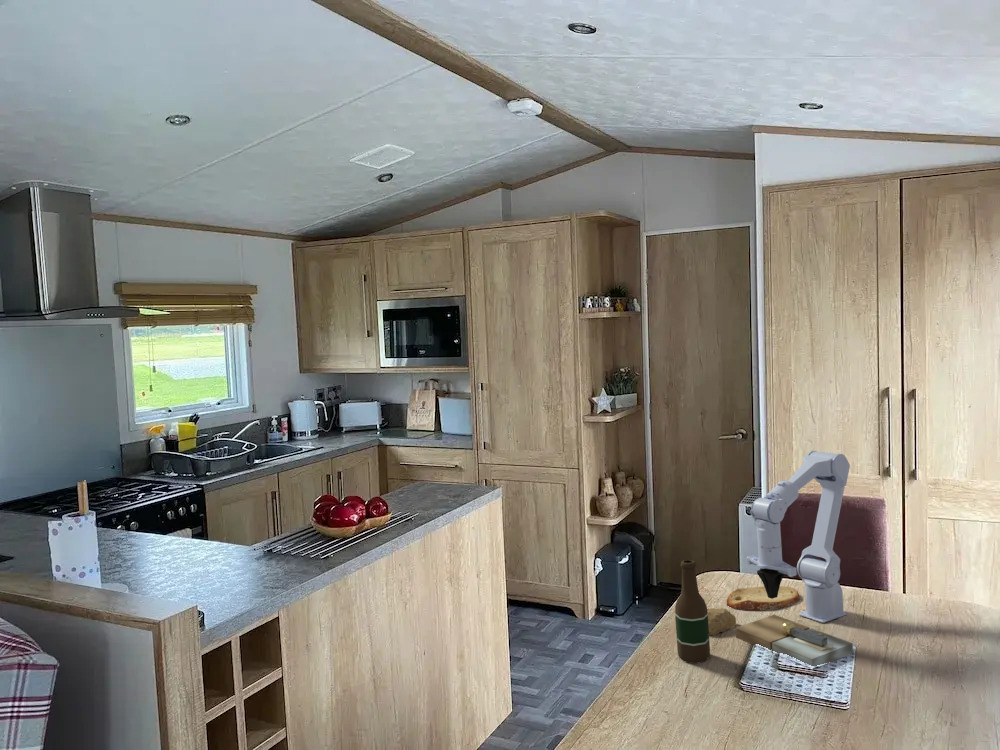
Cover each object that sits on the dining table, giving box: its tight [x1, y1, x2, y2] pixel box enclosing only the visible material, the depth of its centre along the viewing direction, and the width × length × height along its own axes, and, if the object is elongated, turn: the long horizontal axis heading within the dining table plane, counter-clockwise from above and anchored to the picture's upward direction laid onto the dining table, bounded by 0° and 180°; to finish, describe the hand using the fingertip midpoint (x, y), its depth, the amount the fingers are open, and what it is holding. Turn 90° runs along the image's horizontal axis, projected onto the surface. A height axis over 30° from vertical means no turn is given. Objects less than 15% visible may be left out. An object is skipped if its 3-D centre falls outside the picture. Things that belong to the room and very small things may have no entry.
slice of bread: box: [726, 585, 801, 612], centre depth 231 cm, size 18×18×4 cm
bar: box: [782, 621, 827, 646], centre depth 197 cm, size 12×3×3 cm, turn 31°
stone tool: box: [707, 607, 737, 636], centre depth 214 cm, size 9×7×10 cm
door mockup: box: [735, 614, 854, 666], centre depth 200 cm, size 14×24×5 cm, turn 29°
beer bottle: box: [674, 559, 711, 664], centre depth 197 cm, size 8×8×24 cm
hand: (772, 597), depth 207 cm, fingers closed
